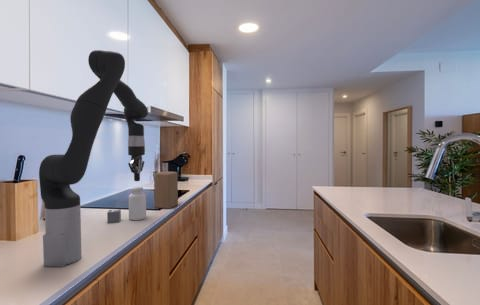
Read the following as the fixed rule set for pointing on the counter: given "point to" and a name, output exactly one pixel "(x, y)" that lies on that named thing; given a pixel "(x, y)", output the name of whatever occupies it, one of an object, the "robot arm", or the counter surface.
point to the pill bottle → (137, 204)
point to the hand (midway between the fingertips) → (137, 180)
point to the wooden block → (166, 189)
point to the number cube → (114, 216)
